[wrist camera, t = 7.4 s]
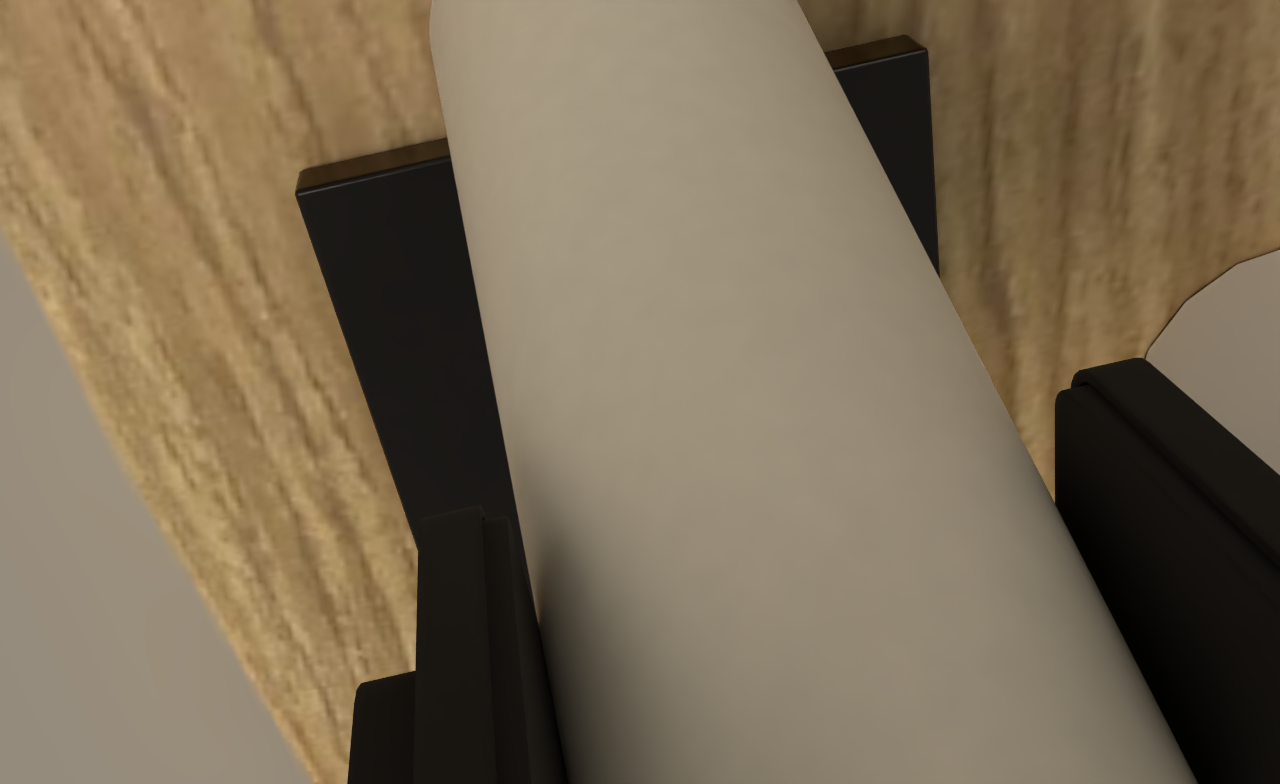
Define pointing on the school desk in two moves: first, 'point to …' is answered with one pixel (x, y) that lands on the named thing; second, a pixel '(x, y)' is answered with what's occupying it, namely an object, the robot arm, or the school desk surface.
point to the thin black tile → (447, 300)
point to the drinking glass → (1231, 353)
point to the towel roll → (758, 425)
